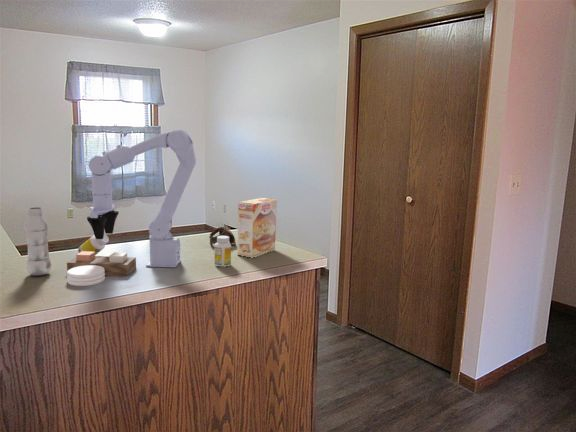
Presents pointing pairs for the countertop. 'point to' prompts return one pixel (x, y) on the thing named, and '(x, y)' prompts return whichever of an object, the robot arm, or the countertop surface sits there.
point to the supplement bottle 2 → (222, 251)
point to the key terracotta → (85, 256)
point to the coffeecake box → (256, 226)
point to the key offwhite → (118, 257)
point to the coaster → (85, 275)
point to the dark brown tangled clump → (222, 232)
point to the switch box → (107, 265)
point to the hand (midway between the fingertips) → (104, 236)
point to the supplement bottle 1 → (94, 244)
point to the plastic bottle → (37, 242)
